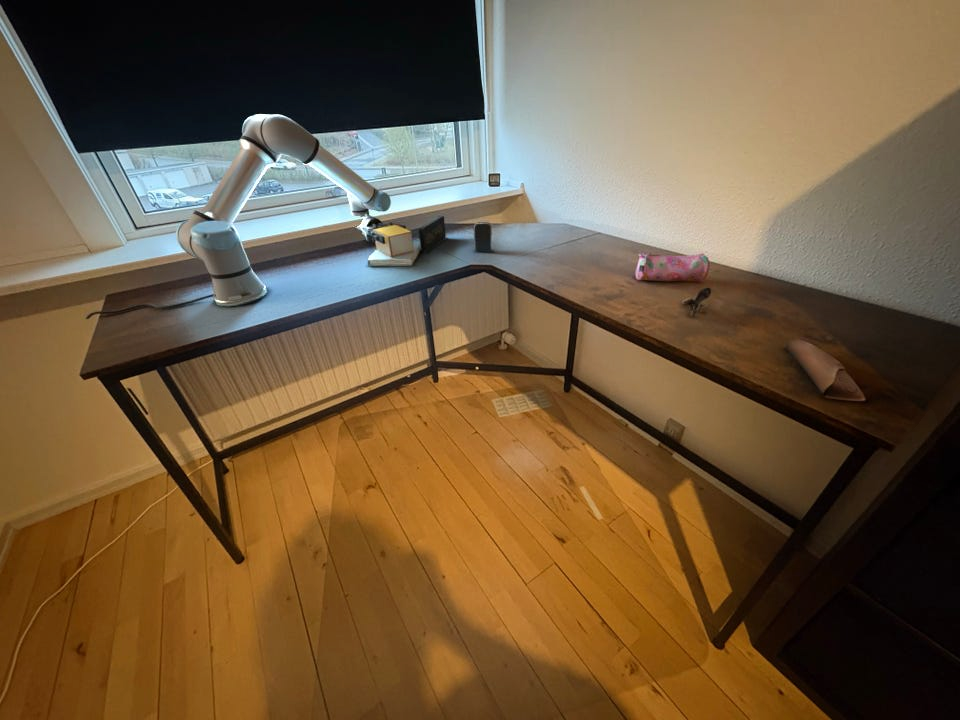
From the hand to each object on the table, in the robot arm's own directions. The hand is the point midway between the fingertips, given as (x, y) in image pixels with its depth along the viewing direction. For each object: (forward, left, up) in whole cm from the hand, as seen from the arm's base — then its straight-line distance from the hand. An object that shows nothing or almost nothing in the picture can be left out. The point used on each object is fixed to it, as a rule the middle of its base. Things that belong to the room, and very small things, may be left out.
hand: (395, 237), depth 147 cm
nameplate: (+12, +16, -9) cm, 22 cm away
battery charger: (+34, +8, -9) cm, 36 cm away
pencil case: (+97, -24, -9) cm, 100 cm away
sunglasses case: (+112, -76, -9) cm, 135 cm away
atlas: (-2, +2, -9) cm, 9 cm away
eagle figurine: (+97, -46, -9) cm, 107 cm away
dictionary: (-2, +2, -6) cm, 7 cm away
